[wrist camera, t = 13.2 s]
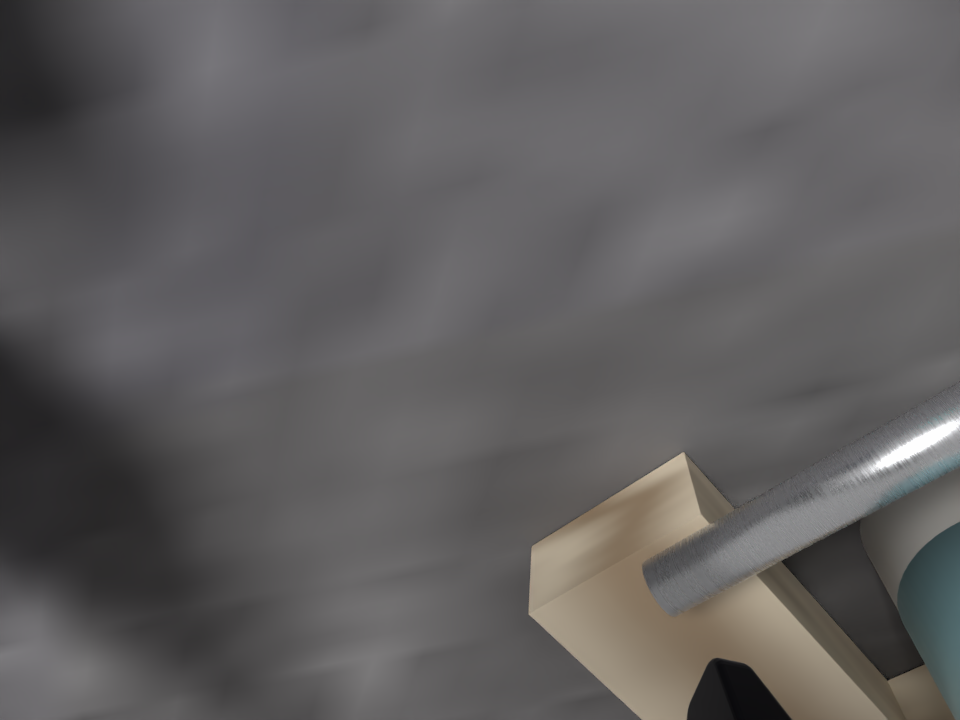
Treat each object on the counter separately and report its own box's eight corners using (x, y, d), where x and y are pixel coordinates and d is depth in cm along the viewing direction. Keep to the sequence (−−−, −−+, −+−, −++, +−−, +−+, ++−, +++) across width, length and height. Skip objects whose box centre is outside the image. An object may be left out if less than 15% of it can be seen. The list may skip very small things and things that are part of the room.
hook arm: (673, 585, 21) (681, 628, 19) (639, 549, 20) (645, 591, 19) (1221, 286, 16) (1286, 315, 14) (1190, 230, 15) (1255, 254, 14)
